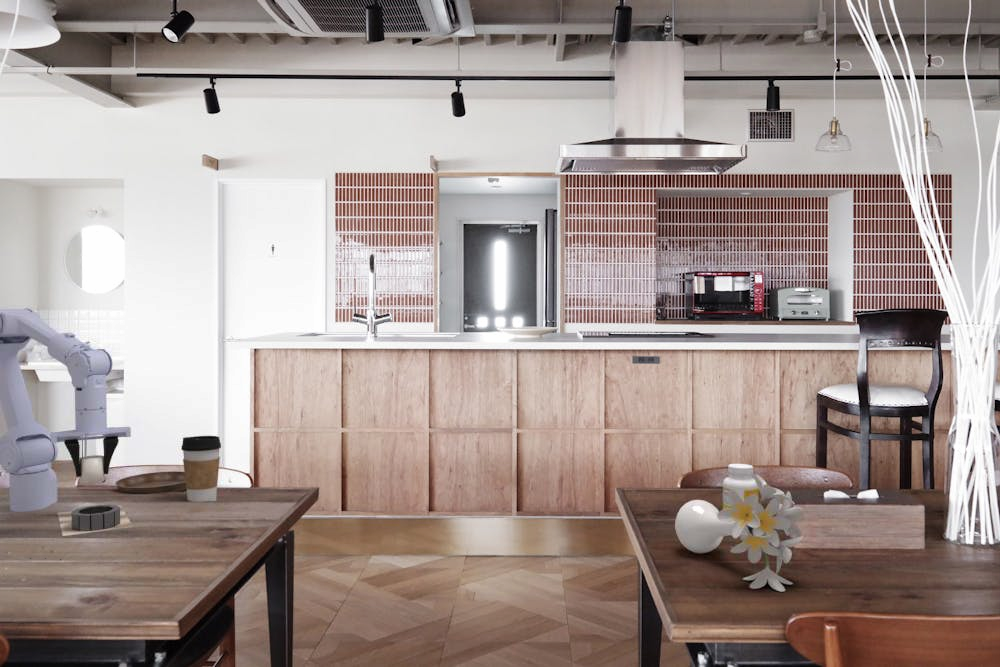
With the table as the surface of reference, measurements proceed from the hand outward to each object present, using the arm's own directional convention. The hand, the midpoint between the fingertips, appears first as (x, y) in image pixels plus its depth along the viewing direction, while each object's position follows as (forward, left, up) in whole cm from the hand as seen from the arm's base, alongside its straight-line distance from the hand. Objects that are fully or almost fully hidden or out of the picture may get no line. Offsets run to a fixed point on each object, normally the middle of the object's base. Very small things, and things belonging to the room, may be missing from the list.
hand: (92, 474), depth 161 cm
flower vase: (+30, +123, -10) cm, 127 cm away
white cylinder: (0, 0, -1) cm, 1 cm away
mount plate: (+3, +2, -10) cm, 10 cm away
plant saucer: (-28, +1, -10) cm, 30 cm away
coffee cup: (-15, +17, -10) cm, 25 cm away
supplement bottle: (+8, +131, -10) cm, 131 cm away
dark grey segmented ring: (+7, +4, -9) cm, 12 cm away
